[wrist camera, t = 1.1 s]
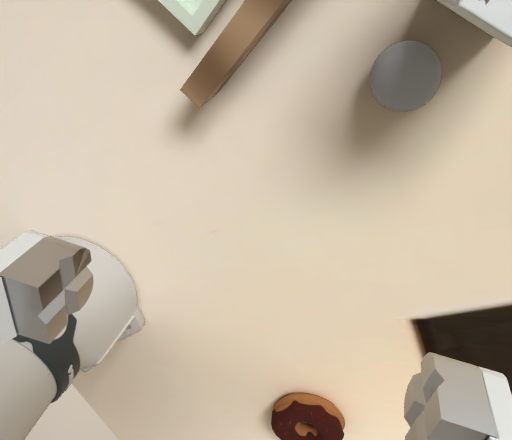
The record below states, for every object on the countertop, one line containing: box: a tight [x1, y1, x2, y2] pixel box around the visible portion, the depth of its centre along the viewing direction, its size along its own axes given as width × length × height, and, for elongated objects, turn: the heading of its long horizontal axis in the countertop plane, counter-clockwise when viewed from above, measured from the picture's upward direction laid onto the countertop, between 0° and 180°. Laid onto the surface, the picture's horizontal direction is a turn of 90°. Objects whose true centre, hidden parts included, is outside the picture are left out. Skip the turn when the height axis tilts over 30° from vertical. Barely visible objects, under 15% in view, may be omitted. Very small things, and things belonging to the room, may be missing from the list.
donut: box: [271, 393, 345, 440], centre depth 56 cm, size 10×10×4 cm
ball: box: [370, 40, 442, 112], centre depth 31 cm, size 5×5×5 cm
